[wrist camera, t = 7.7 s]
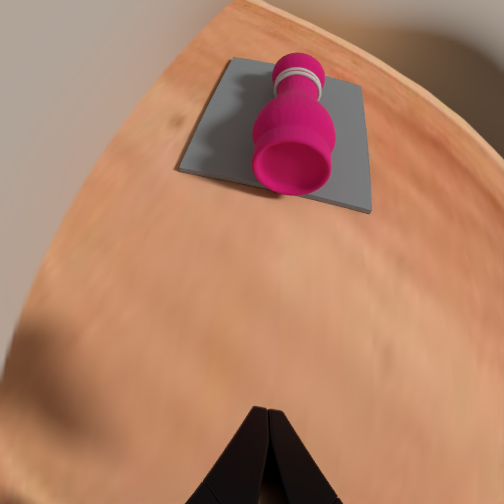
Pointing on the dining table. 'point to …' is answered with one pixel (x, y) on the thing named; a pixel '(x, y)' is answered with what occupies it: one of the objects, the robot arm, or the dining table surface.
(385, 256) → the dining table surface
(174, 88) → the dining table surface
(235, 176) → the mat
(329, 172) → the pepper mill
